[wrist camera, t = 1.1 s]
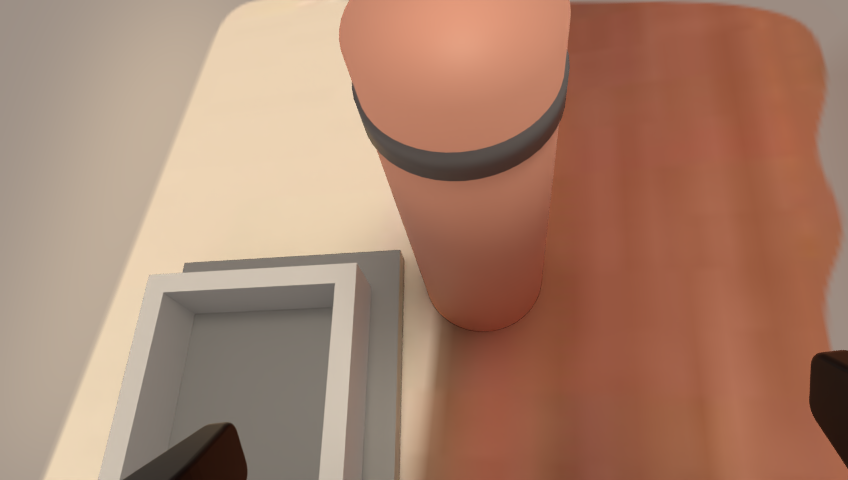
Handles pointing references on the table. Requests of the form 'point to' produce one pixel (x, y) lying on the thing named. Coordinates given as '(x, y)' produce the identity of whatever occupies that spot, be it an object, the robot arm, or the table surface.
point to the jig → (270, 365)
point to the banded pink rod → (465, 138)
